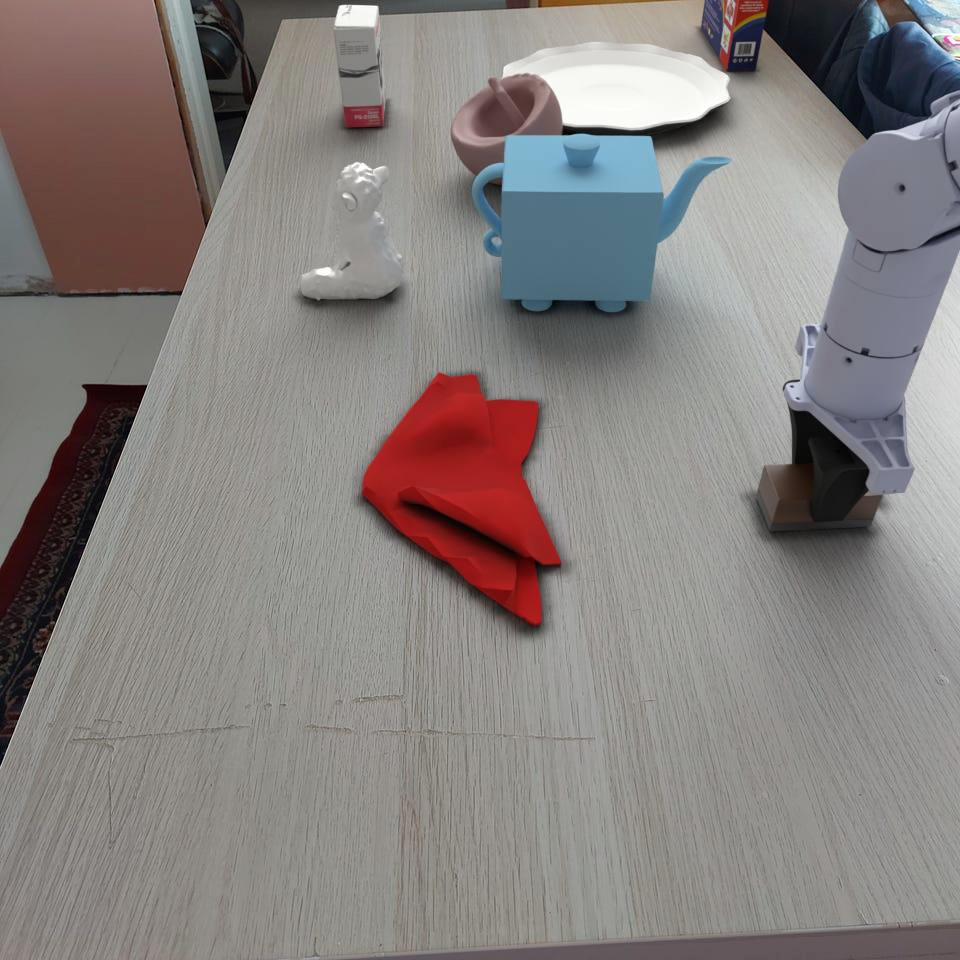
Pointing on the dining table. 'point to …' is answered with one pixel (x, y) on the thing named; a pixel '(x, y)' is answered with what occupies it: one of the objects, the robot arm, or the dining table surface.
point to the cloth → (467, 489)
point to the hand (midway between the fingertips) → (817, 496)
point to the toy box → (735, 31)
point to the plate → (626, 87)
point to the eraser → (803, 500)
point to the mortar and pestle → (503, 119)
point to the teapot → (582, 217)
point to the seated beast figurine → (358, 242)
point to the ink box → (360, 65)
